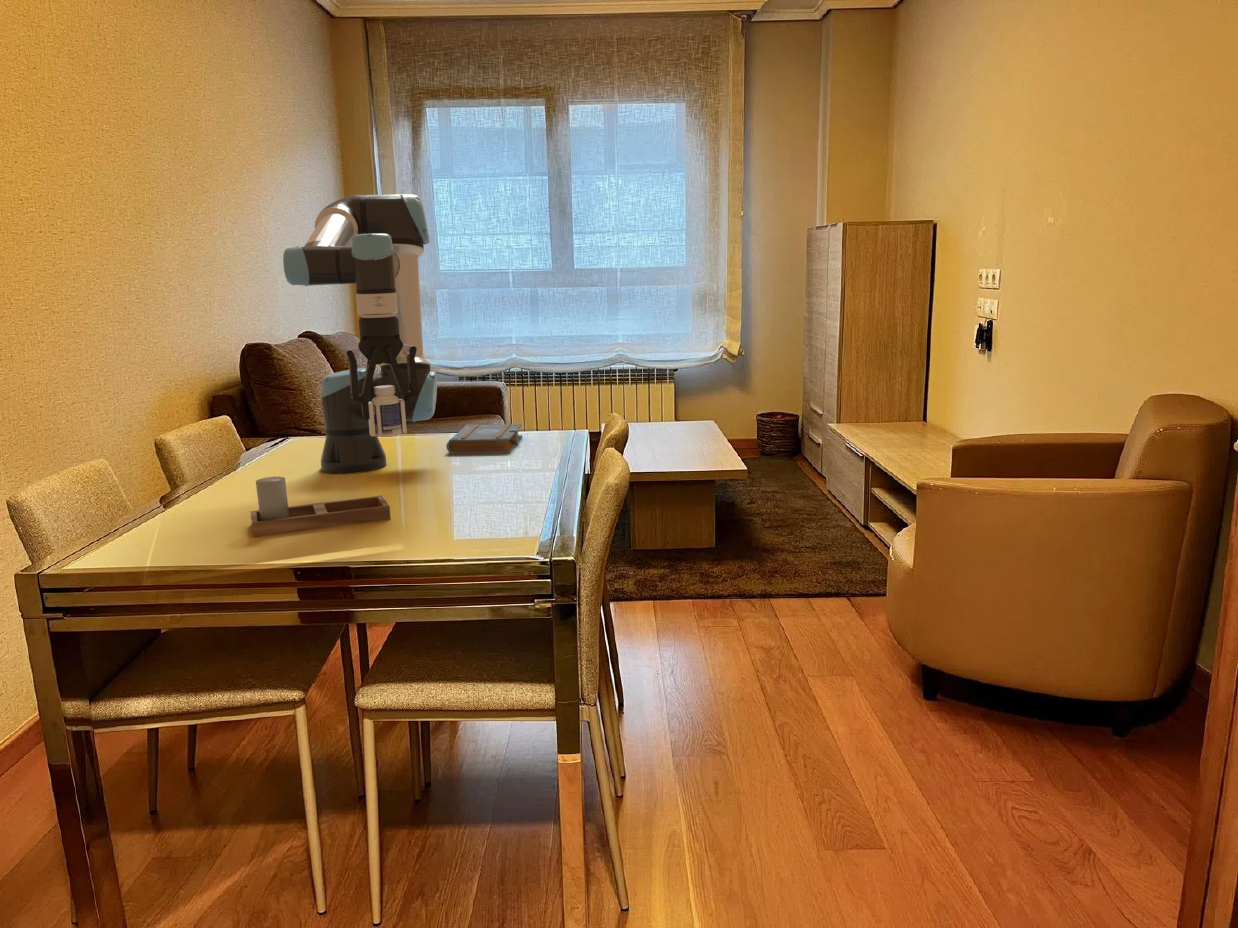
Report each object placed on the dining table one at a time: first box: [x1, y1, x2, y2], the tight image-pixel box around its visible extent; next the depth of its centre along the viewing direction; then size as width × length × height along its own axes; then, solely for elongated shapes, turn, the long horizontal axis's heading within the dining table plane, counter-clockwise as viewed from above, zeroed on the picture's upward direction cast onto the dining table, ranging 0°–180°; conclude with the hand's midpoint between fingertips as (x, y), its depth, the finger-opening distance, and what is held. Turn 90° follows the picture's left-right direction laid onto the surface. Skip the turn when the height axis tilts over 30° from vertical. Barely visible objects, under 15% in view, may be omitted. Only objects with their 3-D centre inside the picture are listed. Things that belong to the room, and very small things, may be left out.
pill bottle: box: [372, 385, 403, 438], centre depth 181 cm, size 5×5×10 cm
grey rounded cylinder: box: [255, 476, 289, 521], centre depth 167 cm, size 5×5×9 cm
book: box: [445, 423, 523, 455], centre depth 242 cm, size 21×16×5 cm
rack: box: [250, 495, 392, 538], centre depth 171 cm, size 9×24×4 cm, turn 113°
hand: (388, 433), depth 182 cm, fingers closed on pill bottle, 5 cm apart
